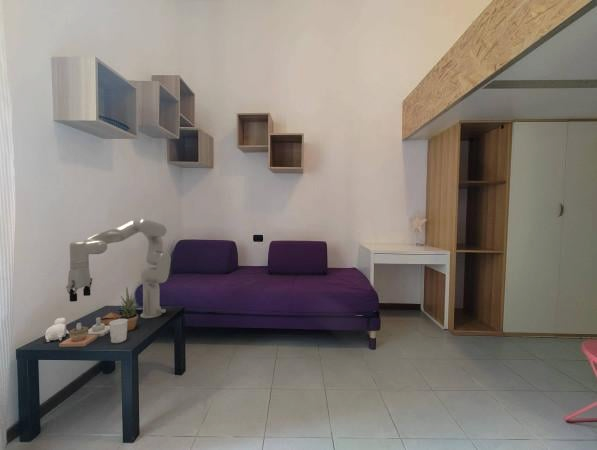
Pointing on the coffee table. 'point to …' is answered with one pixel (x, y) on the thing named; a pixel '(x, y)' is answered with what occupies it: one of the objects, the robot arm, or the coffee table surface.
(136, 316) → the potted plant
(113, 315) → the sunglasses case
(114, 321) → the white cup
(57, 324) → the white figurine
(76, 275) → the robot arm
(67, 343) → the hub post
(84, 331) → the birch ring
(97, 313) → the coffee table surface
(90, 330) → the stand
